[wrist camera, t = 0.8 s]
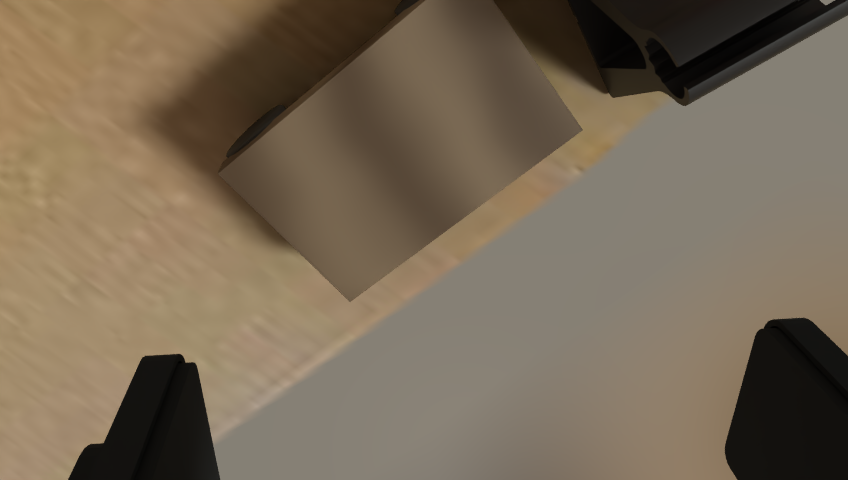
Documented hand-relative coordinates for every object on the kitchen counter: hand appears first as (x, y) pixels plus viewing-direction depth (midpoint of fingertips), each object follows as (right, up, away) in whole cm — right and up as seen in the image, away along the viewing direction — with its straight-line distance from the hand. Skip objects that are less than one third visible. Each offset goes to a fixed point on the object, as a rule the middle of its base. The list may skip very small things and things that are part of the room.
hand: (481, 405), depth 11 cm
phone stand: (+9, +15, +22) cm, 28 cm away
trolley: (-2, +9, +23) cm, 25 cm away
